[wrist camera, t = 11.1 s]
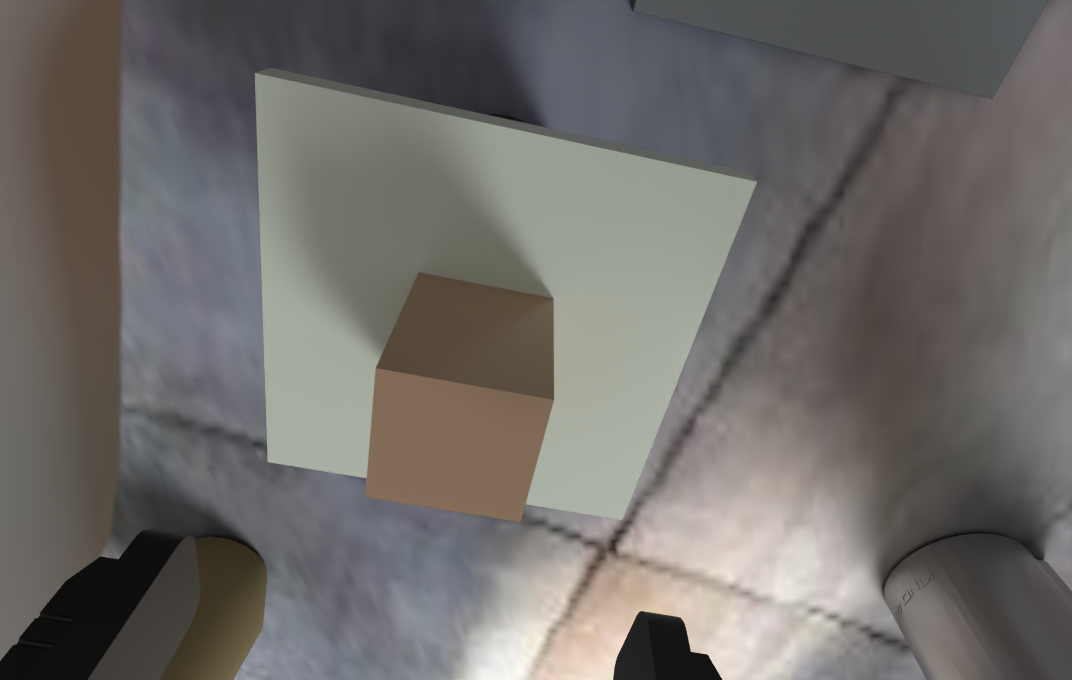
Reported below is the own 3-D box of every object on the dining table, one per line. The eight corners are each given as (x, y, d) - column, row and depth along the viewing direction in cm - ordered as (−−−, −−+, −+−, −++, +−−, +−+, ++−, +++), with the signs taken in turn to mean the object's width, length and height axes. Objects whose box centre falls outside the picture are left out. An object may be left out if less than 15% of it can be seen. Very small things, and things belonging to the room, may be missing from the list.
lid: (746, 171, 17) (832, 257, 12) (619, 500, 23) (638, 647, 18) (270, 67, 16) (134, 112, 11) (278, 443, 22) (197, 582, 17)
